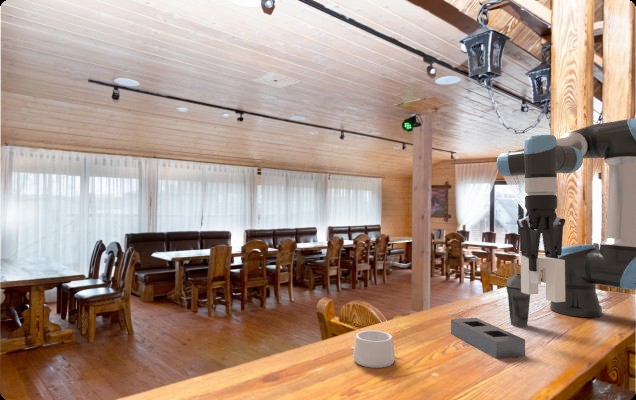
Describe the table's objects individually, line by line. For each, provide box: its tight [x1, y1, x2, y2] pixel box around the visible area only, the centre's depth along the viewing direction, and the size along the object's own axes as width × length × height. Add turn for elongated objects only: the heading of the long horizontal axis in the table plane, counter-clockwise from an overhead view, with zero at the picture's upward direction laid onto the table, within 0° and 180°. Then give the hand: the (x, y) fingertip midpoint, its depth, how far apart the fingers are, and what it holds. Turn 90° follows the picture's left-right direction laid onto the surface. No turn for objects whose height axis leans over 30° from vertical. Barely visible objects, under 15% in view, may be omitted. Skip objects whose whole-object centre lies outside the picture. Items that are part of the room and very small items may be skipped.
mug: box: [352, 329, 395, 369], centre depth 99 cm, size 12×10×6 cm
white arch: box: [520, 254, 565, 302], centre depth 109 cm, size 12×3×10 cm, turn 13°
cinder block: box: [450, 317, 526, 360], centre depth 110 cm, size 8×20×4 cm, turn 13°
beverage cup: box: [505, 258, 532, 328], centre depth 127 cm, size 7×7×20 cm
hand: (541, 283), depth 109 cm, fingers closed on white arch, 3 cm apart
